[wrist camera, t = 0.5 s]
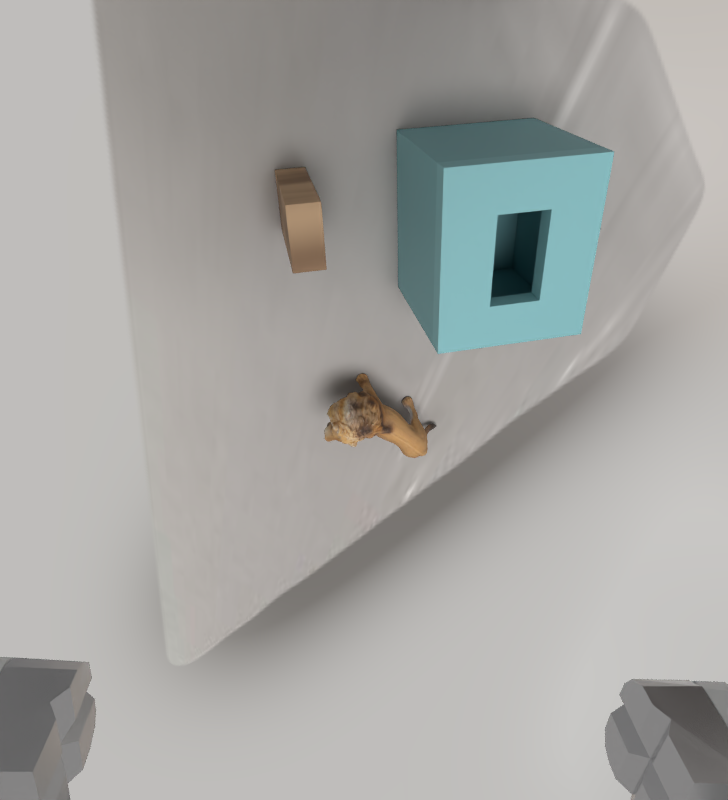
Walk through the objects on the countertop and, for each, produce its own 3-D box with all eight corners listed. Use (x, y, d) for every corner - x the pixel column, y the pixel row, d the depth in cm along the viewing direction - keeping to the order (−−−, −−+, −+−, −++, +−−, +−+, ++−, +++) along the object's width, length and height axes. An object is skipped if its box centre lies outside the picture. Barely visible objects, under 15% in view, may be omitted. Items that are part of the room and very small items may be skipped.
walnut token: (274, 169, 50) (285, 205, 42) (304, 167, 50) (321, 201, 42) (281, 229, 53) (293, 273, 45) (310, 226, 53) (326, 269, 45)
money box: (396, 129, 50) (443, 168, 39) (533, 117, 52) (614, 151, 41) (398, 287, 58) (437, 353, 47) (517, 272, 60) (580, 334, 49)
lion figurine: (308, 399, 63) (319, 453, 56) (331, 358, 61) (346, 409, 54) (422, 439, 69) (446, 492, 62) (447, 403, 67) (475, 454, 60)
